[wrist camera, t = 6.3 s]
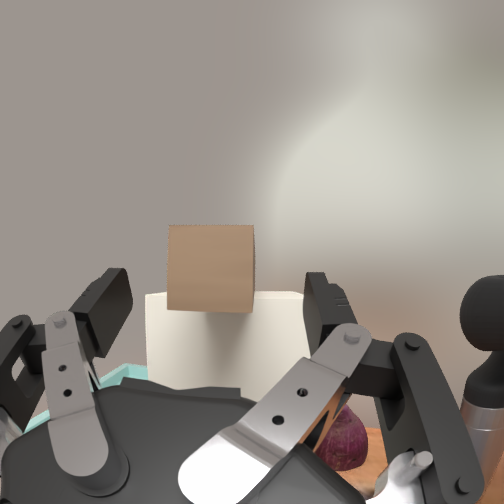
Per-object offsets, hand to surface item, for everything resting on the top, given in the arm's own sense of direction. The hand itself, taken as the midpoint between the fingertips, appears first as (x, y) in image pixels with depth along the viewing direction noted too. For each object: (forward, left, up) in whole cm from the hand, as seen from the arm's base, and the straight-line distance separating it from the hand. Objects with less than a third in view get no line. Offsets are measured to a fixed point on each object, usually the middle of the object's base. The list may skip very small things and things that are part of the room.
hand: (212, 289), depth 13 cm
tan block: (-9, -5, -1) cm, 10 cm away
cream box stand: (-12, -7, -33) cm, 36 cm away
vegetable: (-38, -1, -33) cm, 50 cm away
